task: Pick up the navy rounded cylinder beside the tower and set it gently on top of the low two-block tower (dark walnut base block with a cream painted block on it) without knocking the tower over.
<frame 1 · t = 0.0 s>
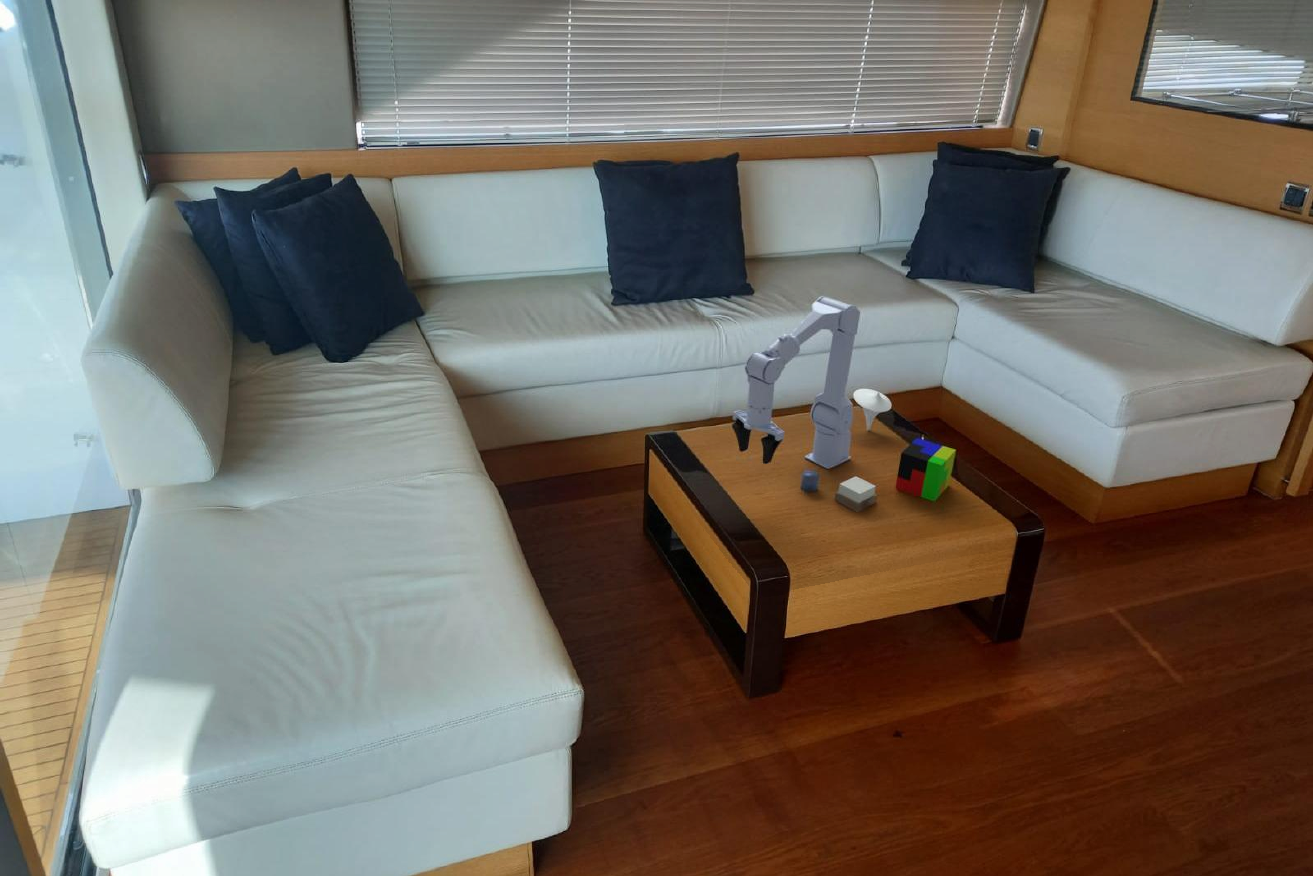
hand: (755, 456, 221), 10 cm above the table, tool pointing down, fingers open, 7 cm apart
puzzle toy: (922, 487, 231), on the table
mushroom: (867, 430, 258), on the table
cream top block: (856, 494, 222), point 2 cm above the table, touching walnut base block
walnut base block: (854, 502, 224), on the table, touching cream top block
navy rounded cylinder: (808, 488, 228), on the table
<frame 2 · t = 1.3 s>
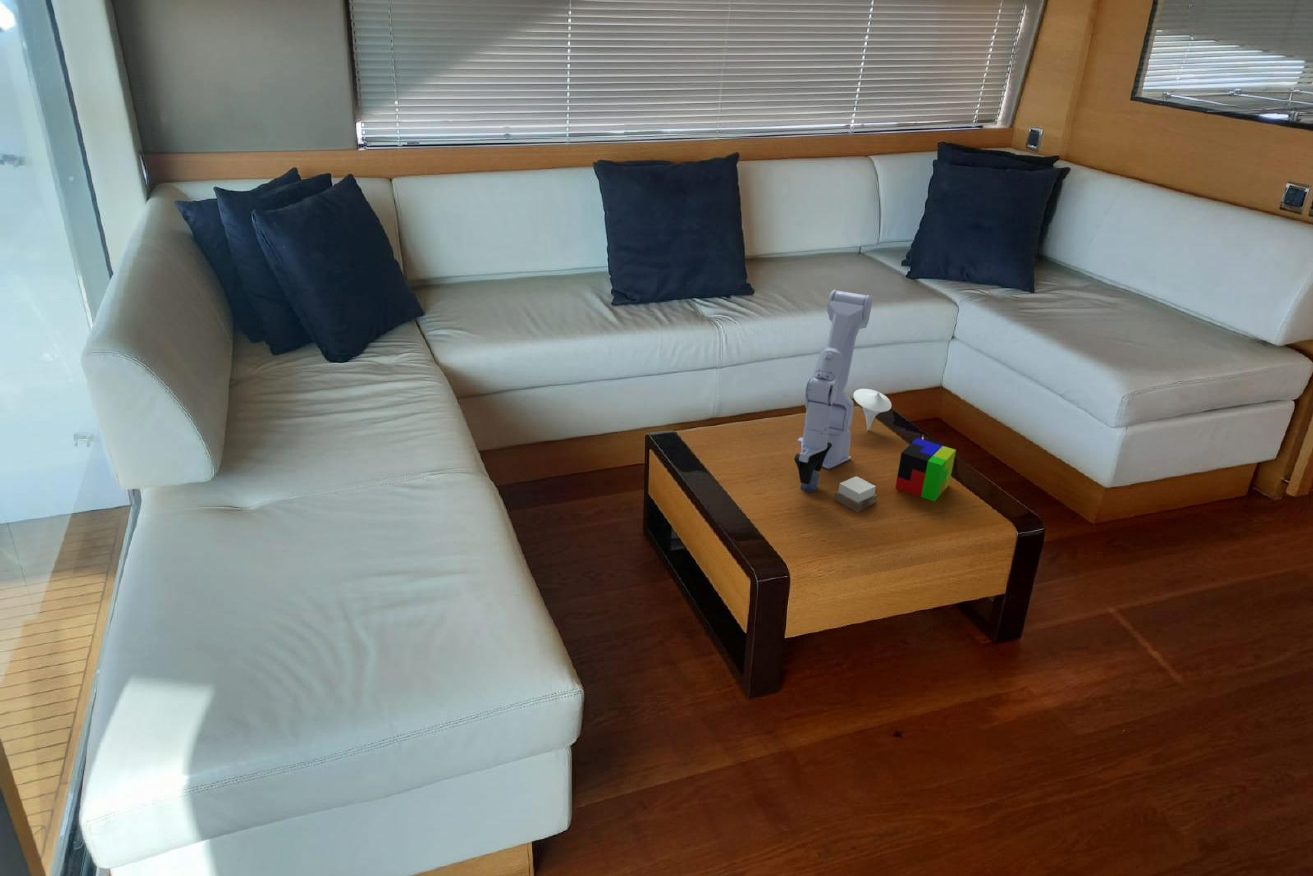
hand: (810, 476, 227), 3 cm above the table, tool pointing down, fingers open, 7 cm apart
nothing on the table moved.
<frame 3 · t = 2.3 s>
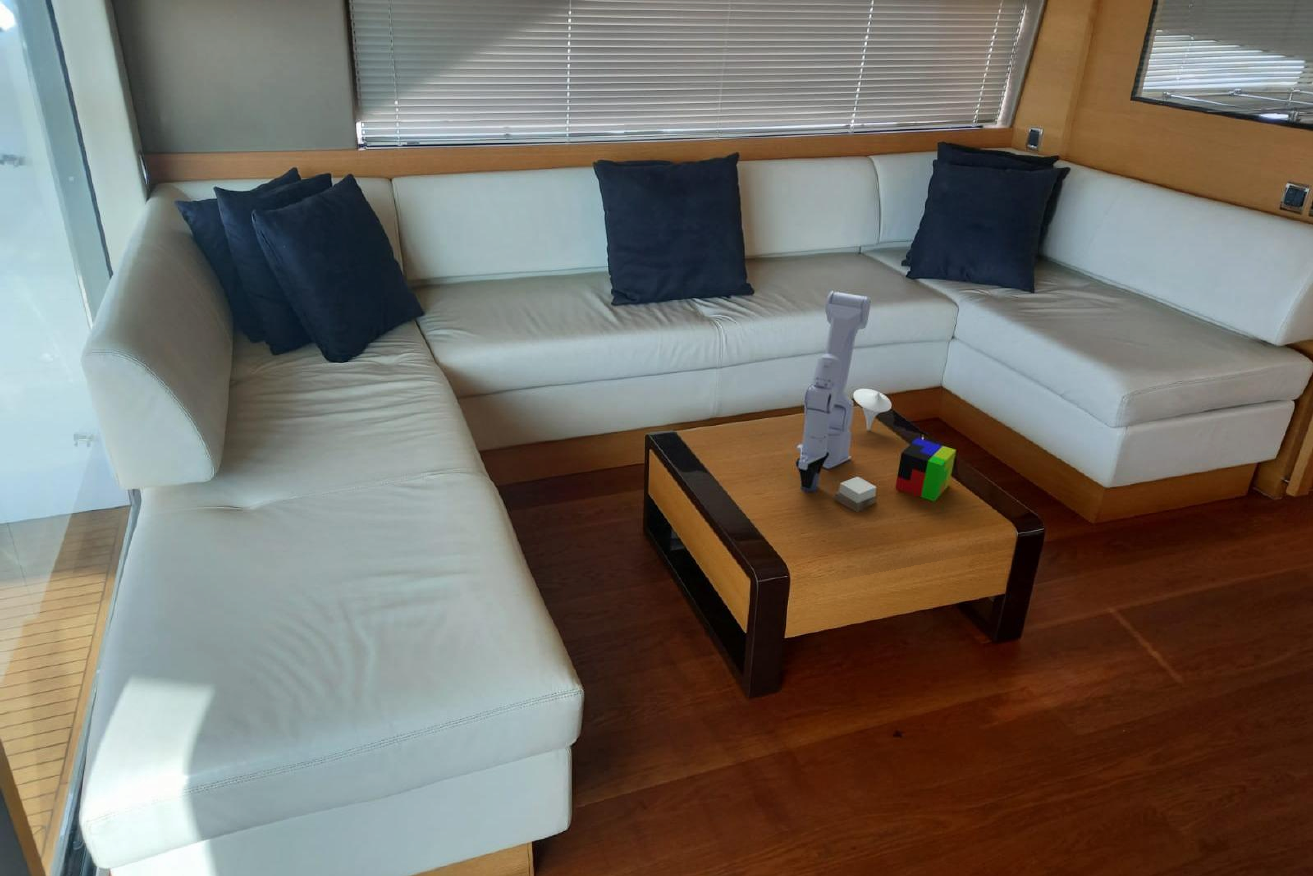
hand: (809, 483, 228), 1 cm above the table, tool pointing down, fingers closed on navy rounded cylinder, 4 cm apart
navy rounded cylinder: (808, 488, 228), on the table, touching gripper
everything else where it was.
when the fingers open (7 cm above the table, at t = 5.3 s): navy rounded cylinder drops 1 cm, point 4 cm above the table.
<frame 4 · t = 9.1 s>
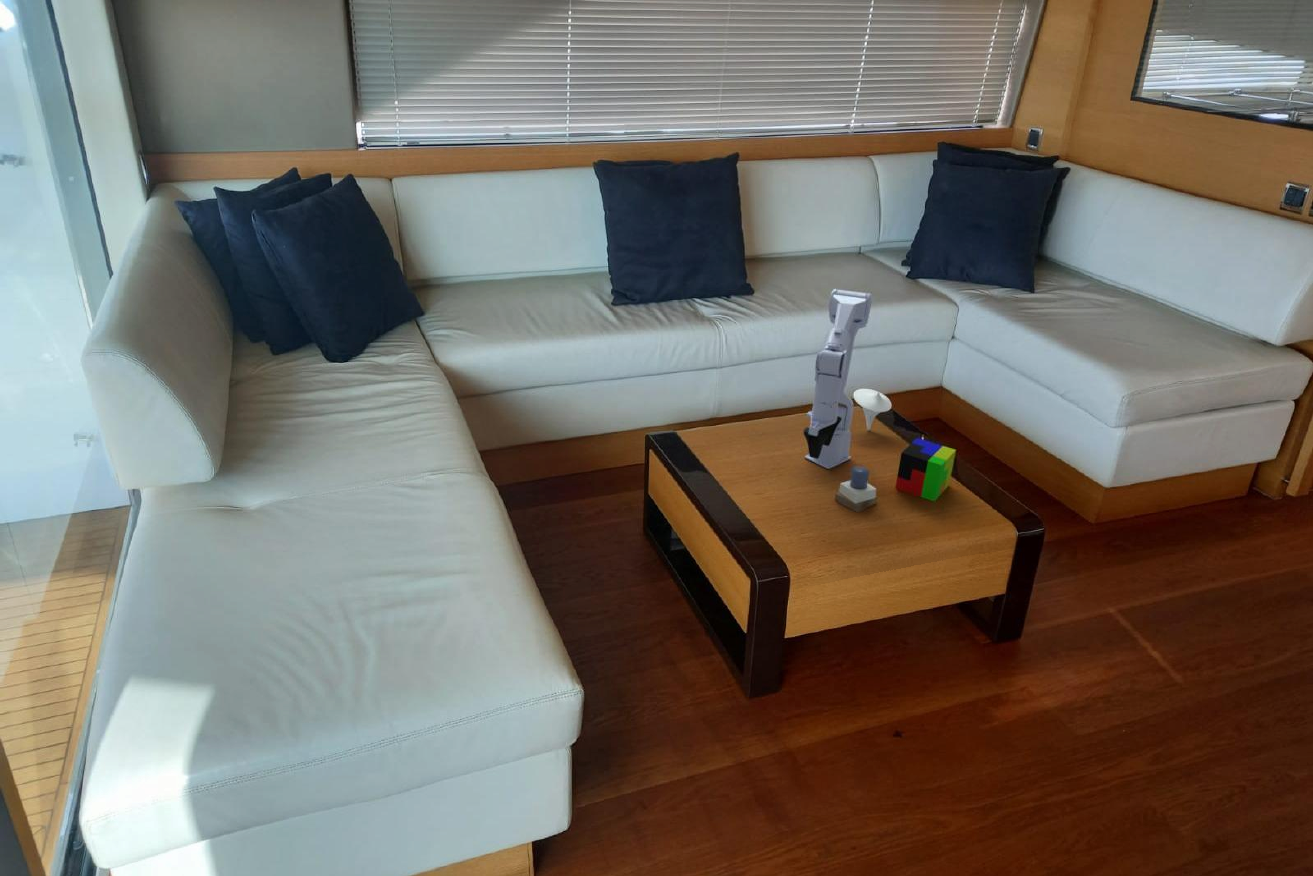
hand: (819, 450, 224), 10 cm above the table, tool pointing down, fingers open, 7 cm apart
navy rounded cylinder: (858, 485, 221), point 4 cm above the table
everything else where it was.
at the end: navy rounded cylinder 0.2 cm from the target spot, point 4.5 cm above the table; cream top block 0.3 cm from the target spot, point 2.0 cm above the table; cream top block tilted 0° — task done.
